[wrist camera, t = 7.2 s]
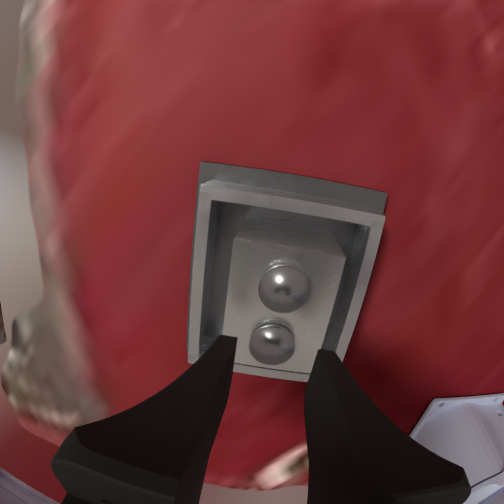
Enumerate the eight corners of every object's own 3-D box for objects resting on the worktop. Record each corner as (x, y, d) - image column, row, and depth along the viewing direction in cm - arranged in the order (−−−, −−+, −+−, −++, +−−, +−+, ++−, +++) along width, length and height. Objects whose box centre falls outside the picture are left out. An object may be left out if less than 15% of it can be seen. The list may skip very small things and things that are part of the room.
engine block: (330, 228, 16) (348, 262, 12) (307, 325, 18) (313, 380, 14) (246, 214, 17) (231, 243, 12) (233, 313, 19) (217, 366, 14)
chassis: (384, 191, 16) (402, 200, 13) (334, 367, 20) (339, 395, 17) (203, 161, 17) (188, 164, 14) (188, 345, 21) (177, 371, 18)
